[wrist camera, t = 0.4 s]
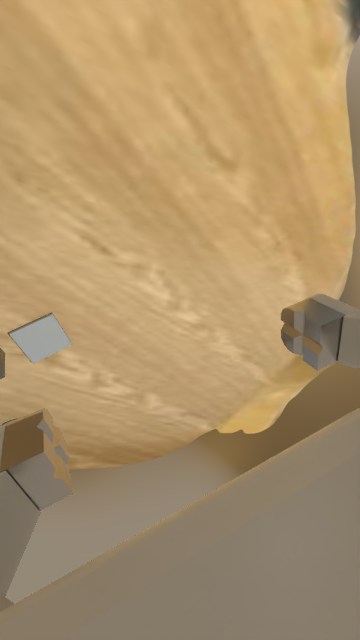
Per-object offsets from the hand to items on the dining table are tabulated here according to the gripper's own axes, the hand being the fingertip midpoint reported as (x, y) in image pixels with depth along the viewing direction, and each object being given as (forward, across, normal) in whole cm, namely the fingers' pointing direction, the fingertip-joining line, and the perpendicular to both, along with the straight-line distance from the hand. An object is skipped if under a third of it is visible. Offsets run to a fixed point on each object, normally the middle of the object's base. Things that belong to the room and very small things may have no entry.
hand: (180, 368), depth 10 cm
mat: (+41, +11, +18) cm, 46 cm away
